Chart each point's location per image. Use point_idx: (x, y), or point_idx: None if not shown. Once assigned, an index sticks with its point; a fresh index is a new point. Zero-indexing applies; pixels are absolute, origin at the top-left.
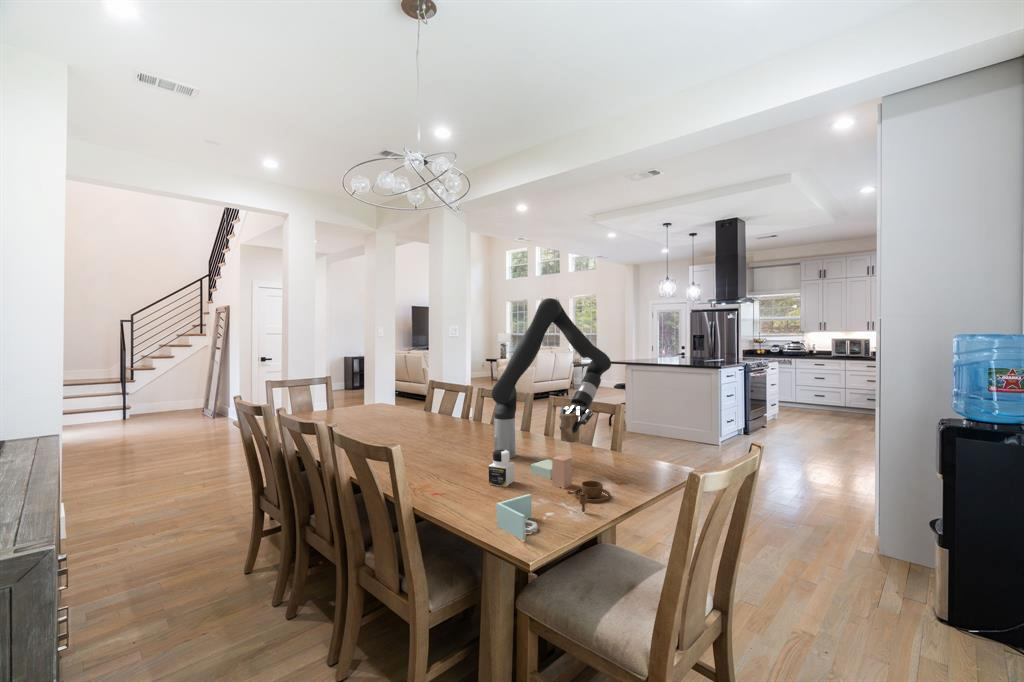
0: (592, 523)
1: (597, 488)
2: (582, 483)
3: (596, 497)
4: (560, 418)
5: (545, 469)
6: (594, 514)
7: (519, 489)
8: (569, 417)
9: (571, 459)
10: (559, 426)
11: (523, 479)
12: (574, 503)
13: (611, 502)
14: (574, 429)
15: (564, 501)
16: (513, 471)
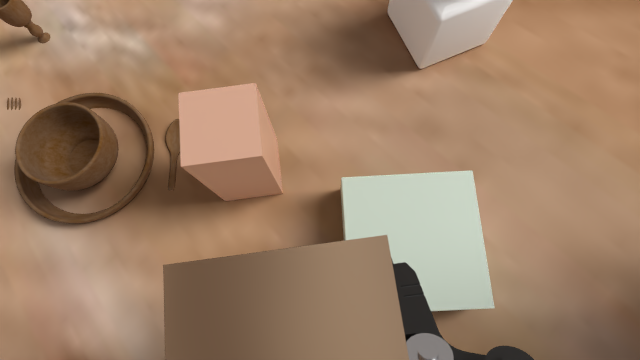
0: None
1: (25, 130)
2: (96, 122)
3: (67, 155)
4: (495, 356)
5: (371, 177)
6: (10, 51)
7: (336, 31)
8: (218, 259)
9: (185, 167)
10: (407, 266)
11: (415, 110)
12: (107, 71)
13: (8, 164)
14: None
15: (143, 61)
16: (425, 38)
